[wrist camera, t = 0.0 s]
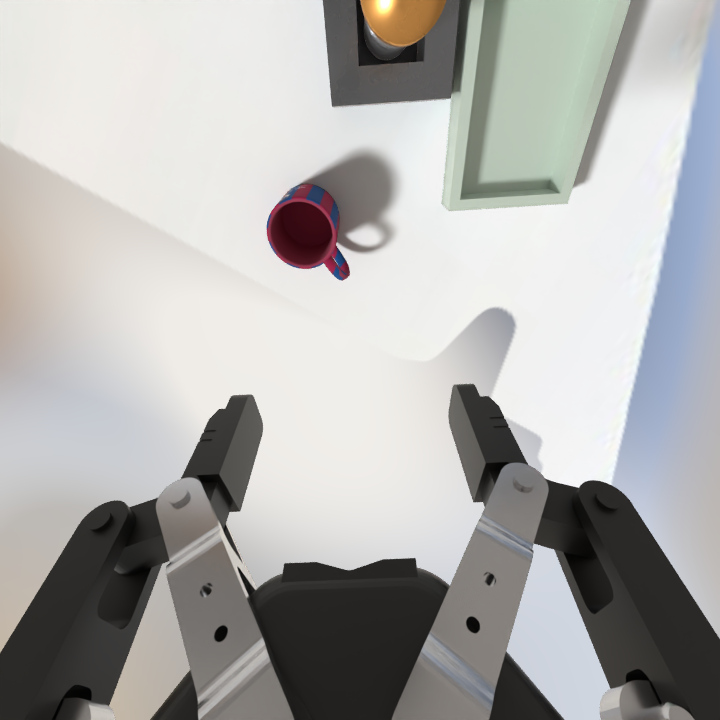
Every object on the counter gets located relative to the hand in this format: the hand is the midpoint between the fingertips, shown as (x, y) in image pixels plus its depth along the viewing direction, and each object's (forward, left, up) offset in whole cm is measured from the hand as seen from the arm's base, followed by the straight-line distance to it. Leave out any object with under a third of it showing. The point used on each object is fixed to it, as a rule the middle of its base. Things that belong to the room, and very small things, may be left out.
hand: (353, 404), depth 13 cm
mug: (+1, -4, -30) cm, 30 cm away
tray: (-9, +16, -29) cm, 35 cm away
